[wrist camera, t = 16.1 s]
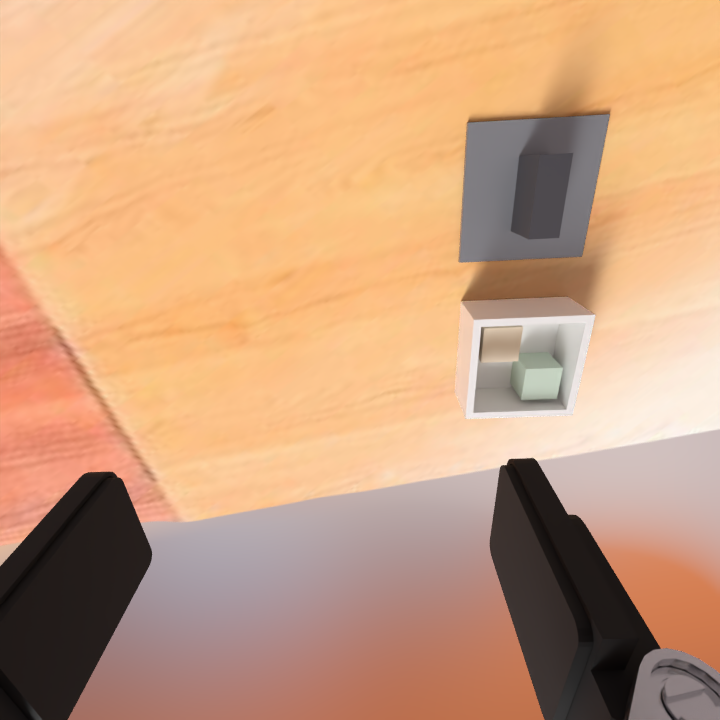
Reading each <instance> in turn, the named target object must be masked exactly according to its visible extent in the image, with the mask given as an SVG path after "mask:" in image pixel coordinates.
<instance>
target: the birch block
mask: <svg viewBox="0 0 720 720" xmlns="http://www.w3.org/2000/svg"><path fill="white" fill-rule="evenodd" d="M522 331H523V326H522V325H517V326H493V327H481V335H480V346H479V356H478V358H479V360H480V362H481V363H488V362H514V361H518V359H519V352H520V345H521V338H522Z"/></svg>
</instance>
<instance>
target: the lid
mask: <svg viewBox="0 0 720 720" xmlns="http://www.w3.org/2000/svg"><path fill="white" fill-rule="evenodd" d="M609 116H610V114H606V115H589V116H572V117H555V118H538V119H522V120H505V121H488V122H471V123H467V131H466V148H465V165H464V181H463V198H462V215H461V232H460V248H459V262H481V261H501V260H521V259H542V258H562V257H582V254H583V249H584V244H585V239H586V234H587V229H588V224H589V218H590V213H591V208H592V203H593V198H594V193H595V188H596V183H597V178H598V172H599V167H600V162H601V157H602V152H603V147H604V142H605V137H606V132H607V126H608V121H609Z"/></svg>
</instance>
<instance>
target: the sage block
mask: <svg viewBox="0 0 720 720" xmlns="http://www.w3.org/2000/svg"><path fill="white" fill-rule="evenodd" d="M562 371H563V367H562V366H561V365H560V364H559V363H558V362H557V361H556V360H555V359H554V358H553V357H552V356H551V355H550V354H549V353H548V352H537V353H519V359H518V361H514V362H513V363H512V370H511V378H510V384H511V385H512V387H513V388H514V390H515V391H516V393H517V394H518V396H519V397H520V399H521V400H537V399H557V395H558V390H559V385H560V381H561V376H562Z"/></svg>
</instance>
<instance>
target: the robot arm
mask: <svg viewBox="0 0 720 720" xmlns="http://www.w3.org/2000/svg"><path fill="white" fill-rule="evenodd" d="M490 551H491V556H492V559H493V562H494V565H495V569H496V572H497V575H498V578H499V581H500V584H501V587H502V590H503V593H504V596H505V600H506V603H507V606H508V609H509V612H510V615H511V618H512V621H513V624H514V627H515V631H516V634H517V637H518V640H519V643H520V646H521V649H522V652H523V655H524V658H525V662H526V665H527V668H528V671H529V674H530V677H531V680H532V683H533V686H534V689H535V692H536V696H537V699H538V701H539V705H540V708H541V711H542V714H543V717H544V719H545V720H720V674H719V673H718V672H717V671H716V670H715V669H713V668H712V667H710V666H708V665H707V664H706V663H704V662H703V661H701V660H700V659H698V658H696V657H693V656H691V655H689V654H687V653H685V652H682V651H678V650H673V649H668V648H665V649H661V648H660V646H659V645H658V643H657V642H656V640H655V639H654V637H653V635H652V633H651V632H650V630H649V628H648V627H647V625H646V624H645V622H644V620H643V619H642V617H641V615H640V614H639V612H638V610H637V609H636V607H635V605H634V604H633V602H632V601H631V599H630V597H629V596H628V594H627V592H626V591H625V589H624V587H623V586H622V584H621V582H620V581H619V579H618V578H617V576H616V574H615V573H614V571H613V569H612V568H611V566H610V564H609V563H608V561H607V560H606V558H605V556H604V555H603V553H602V551H601V550H600V548H599V547H598V545H597V543H596V542H595V540H594V538H593V536H592V535H591V533H590V532H589V530H588V528H587V527H586V525H585V524H584V522H583V521H582V520H581V518H579V517H578V516H576V515H568V514H567V513H566V511H565V509H564V507H563V505H562V504H561V502H560V500H559V499H558V497H557V495H556V493H555V492H554V490H553V488H552V486H551V485H550V483H549V481H548V479H547V478H546V476H545V474H544V472H543V471H542V469H541V467H540V466H539V464H538V462H537V461H536V460H535V459H534V458H527V459H509V461H508V463H507V465H502V466H501V467H500V473H499V479H498V487H497V494H496V502H495V508H494V515H493V523H492V529H491V536H490ZM151 559H152V551H151V548H150V545H149V543H148V540H147V538H146V535H145V533H144V531H143V528H142V526H141V523H140V521H139V519H138V516H137V514H136V511H135V509H134V507H133V504H132V502H131V499H130V497H129V494H128V492H127V490H126V487H125V485H124V482H123V481H122V479H121V478H118V477H117V476H116V474H115V473H113V472H88V473H85V474H84V475H82V476H81V477H80V478H79V479H78V481H77V482H76V483H75V484H74V485H73V486H72V487H71V488H70V489H69V491H68V492H67V493H66V494H65V495H64V496H63V497H62V498H61V499H60V501H59V502H58V503H57V504H56V505H55V506H54V507H53V508H52V509H51V511H50V512H49V513H48V514H47V515H46V516H45V517H44V518H43V519H42V521H41V522H40V523H39V524H38V525H37V526H36V527H35V528H34V529H33V531H32V532H31V533H30V534H29V535H28V536H27V537H26V538H25V540H24V541H23V542H22V543H21V544H20V545H19V546H18V548H16V550H15V551H14V552H13V553H12V554H11V555H10V556H9V557H8V559H7V560H6V561H5V562H4V563H3V564H2V565H1V566H0V720H67V719H68V718H69V716H70V714H71V712H72V710H73V708H74V707H75V705H76V703H77V701H78V699H79V697H80V695H81V693H82V692H83V690H84V688H85V686H86V684H87V682H88V680H89V678H90V676H91V674H92V673H93V671H94V669H95V667H96V665H97V663H98V661H99V660H100V658H101V656H102V654H103V652H104V650H105V648H106V646H107V644H108V643H109V641H110V639H111V637H112V635H113V633H114V631H115V629H116V628H117V626H118V624H119V622H120V620H121V618H122V616H123V614H124V612H125V611H126V609H127V607H128V605H129V603H130V601H131V599H132V597H133V595H134V594H135V592H136V590H137V588H138V586H139V584H140V582H141V580H142V579H143V577H144V575H145V573H146V571H147V569H148V567H149V565H150V563H151Z"/></svg>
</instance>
